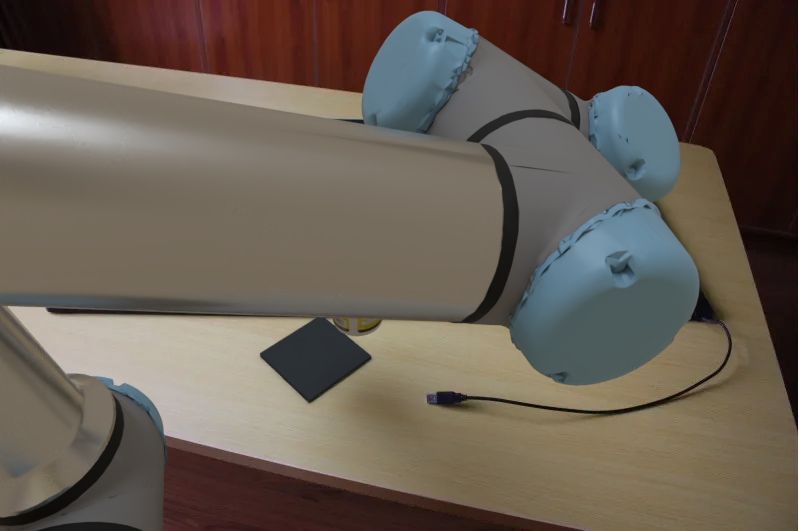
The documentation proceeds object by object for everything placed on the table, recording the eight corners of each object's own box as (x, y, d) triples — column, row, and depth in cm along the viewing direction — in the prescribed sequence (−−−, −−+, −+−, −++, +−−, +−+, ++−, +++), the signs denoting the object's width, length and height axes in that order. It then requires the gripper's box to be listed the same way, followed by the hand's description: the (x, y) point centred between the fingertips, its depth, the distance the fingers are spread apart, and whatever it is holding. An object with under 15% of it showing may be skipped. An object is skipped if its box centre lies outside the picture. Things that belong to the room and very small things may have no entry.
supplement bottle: (386, 305, 70) (388, 235, 64) (377, 341, 66) (378, 270, 60) (338, 298, 71) (335, 228, 65) (326, 334, 67) (321, 263, 60)
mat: (309, 403, 76) (309, 400, 76) (259, 356, 81) (259, 353, 81) (371, 358, 81) (371, 355, 81) (321, 317, 87) (321, 314, 86)
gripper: (441, 320, 45) (289, 363, 63) (556, 201, 57) (400, 266, 74) (381, 232, 44) (244, 301, 62) (511, 128, 55) (364, 212, 73)
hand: (329, 282), depth 68 cm, fingers closed on supplement bottle, 5 cm apart
